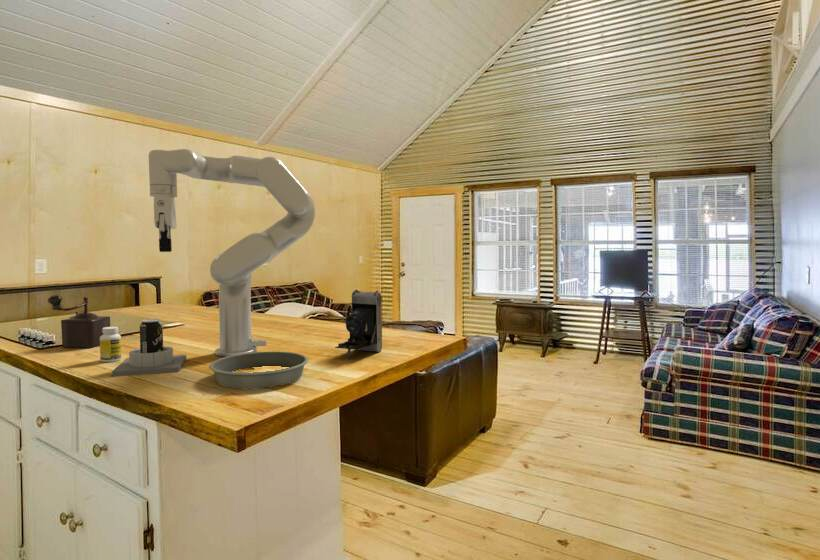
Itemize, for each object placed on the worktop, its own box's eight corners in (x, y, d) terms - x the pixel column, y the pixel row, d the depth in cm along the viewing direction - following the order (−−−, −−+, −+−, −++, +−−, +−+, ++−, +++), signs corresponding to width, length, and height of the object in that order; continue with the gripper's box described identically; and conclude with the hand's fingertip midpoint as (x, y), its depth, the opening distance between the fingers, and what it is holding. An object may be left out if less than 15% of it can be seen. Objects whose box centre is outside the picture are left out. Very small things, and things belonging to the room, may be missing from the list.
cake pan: (295, 362, 146) (295, 347, 146) (320, 383, 124) (320, 365, 124) (205, 372, 135) (204, 356, 135) (215, 397, 113) (214, 378, 113)
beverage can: (164, 358, 144) (163, 317, 143) (162, 363, 139) (161, 320, 138) (142, 360, 142) (140, 319, 141) (139, 365, 137) (137, 321, 136)
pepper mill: (82, 341, 175) (80, 291, 174) (112, 342, 174) (110, 291, 173) (46, 351, 160) (43, 295, 158) (79, 352, 159) (76, 296, 157)
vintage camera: (332, 359, 151) (331, 295, 148) (356, 348, 165) (356, 288, 163) (361, 363, 147) (360, 297, 145) (383, 351, 161) (383, 290, 159)
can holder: (186, 358, 150) (186, 343, 150) (179, 371, 135) (178, 354, 134) (126, 362, 145) (126, 346, 145) (112, 376, 130) (111, 358, 130)
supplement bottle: (111, 362, 144) (110, 329, 144) (96, 361, 145) (94, 328, 145) (126, 358, 150) (124, 326, 149) (110, 357, 151) (109, 325, 150)
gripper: (173, 189, 146) (175, 252, 147) (180, 194, 160) (182, 251, 162) (144, 188, 144) (147, 252, 145) (154, 193, 158) (156, 251, 159)
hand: (165, 251), depth 153 cm, fingers closed
